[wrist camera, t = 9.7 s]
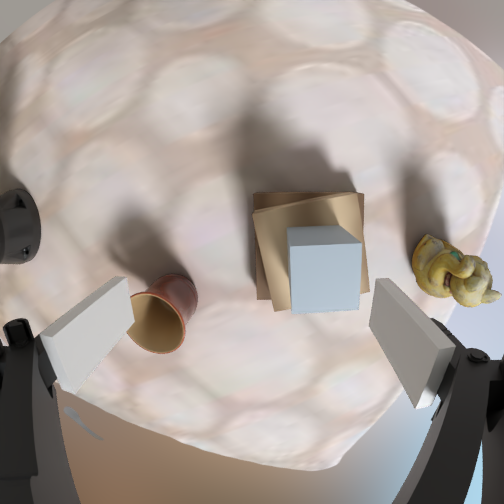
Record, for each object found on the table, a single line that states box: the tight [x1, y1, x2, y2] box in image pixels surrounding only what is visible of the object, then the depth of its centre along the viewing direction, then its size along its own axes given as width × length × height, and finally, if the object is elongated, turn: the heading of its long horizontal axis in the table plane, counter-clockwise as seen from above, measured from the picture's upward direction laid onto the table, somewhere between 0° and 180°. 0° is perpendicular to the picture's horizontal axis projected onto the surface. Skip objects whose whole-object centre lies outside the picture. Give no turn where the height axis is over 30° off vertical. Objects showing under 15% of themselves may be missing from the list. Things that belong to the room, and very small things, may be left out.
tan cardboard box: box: [253, 192, 364, 300], centre depth 38 cm, size 14×14×4 cm
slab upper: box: [252, 192, 370, 312], centre depth 34 cm, size 12×12×4 cm
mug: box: [126, 274, 198, 354], centre depth 38 cm, size 12×9×10 cm
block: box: [287, 225, 362, 314], centre depth 27 cm, size 6×6×9 cm
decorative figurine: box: [412, 234, 502, 307], centre depth 31 cm, size 10×8×15 cm
